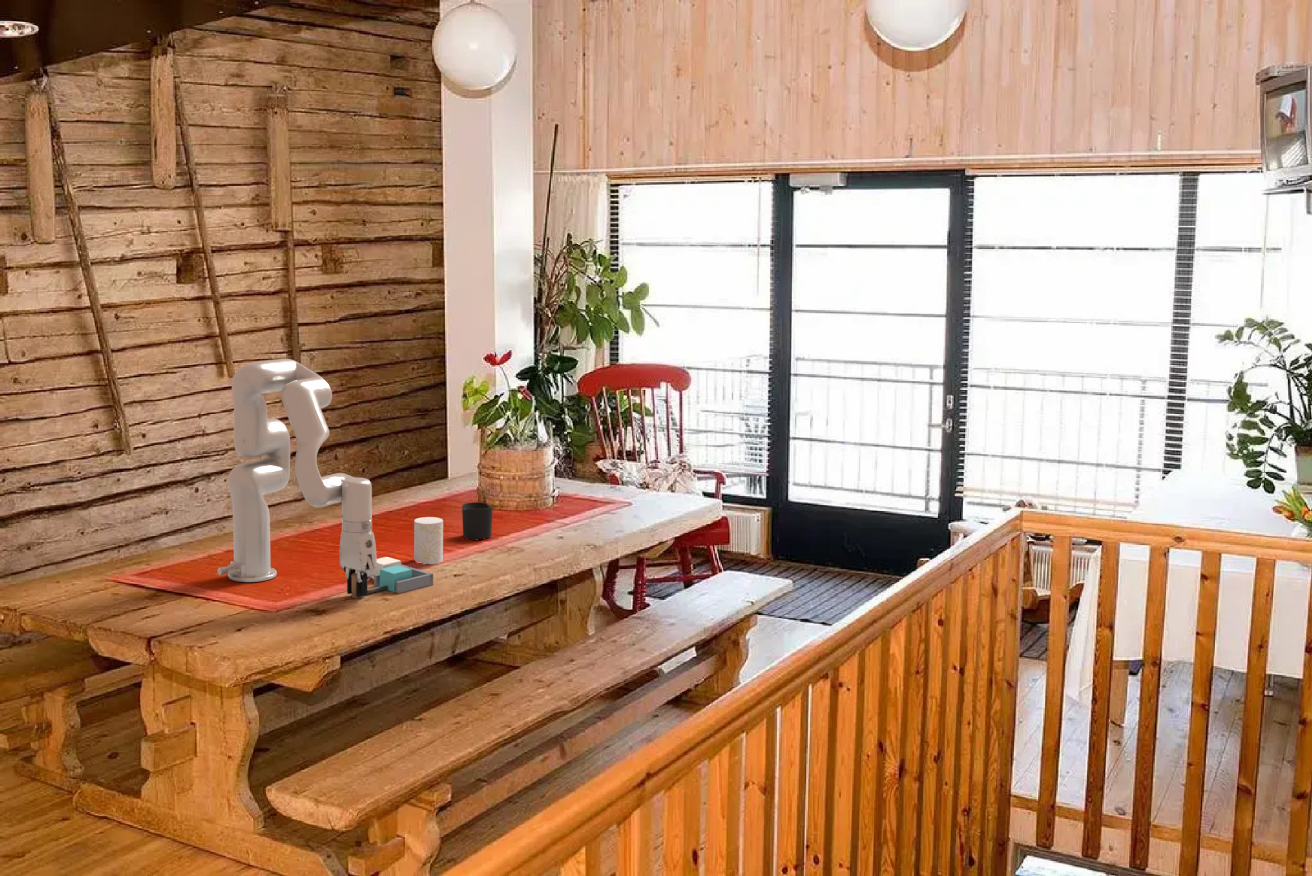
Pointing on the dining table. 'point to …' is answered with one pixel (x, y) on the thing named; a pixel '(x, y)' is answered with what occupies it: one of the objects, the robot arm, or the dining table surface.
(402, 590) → the lane rack
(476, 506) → the pen holder
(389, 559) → the off-white block
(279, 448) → the robot arm
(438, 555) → the cup
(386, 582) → the teal block with handle
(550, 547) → the dining table surface
